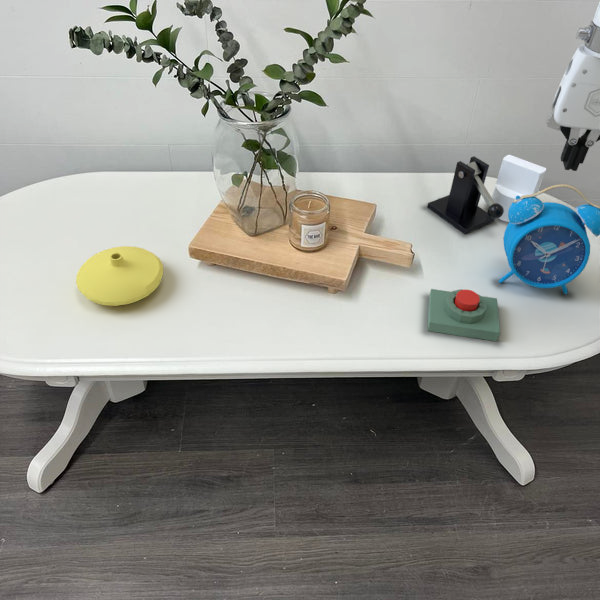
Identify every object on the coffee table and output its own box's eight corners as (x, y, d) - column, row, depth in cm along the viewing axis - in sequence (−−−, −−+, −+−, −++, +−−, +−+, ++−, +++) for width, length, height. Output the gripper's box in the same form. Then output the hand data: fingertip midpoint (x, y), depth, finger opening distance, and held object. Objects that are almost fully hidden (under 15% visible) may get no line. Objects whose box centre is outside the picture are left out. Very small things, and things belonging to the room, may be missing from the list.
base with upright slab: (536, 210, 130) (553, 163, 122) (518, 227, 125) (535, 179, 117) (500, 195, 134) (514, 149, 126) (481, 211, 129) (495, 164, 121)
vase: (72, 316, 102) (61, 287, 97) (87, 260, 113) (79, 231, 108) (162, 312, 103) (156, 282, 98) (168, 257, 114) (163, 228, 110)
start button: (477, 298, 103) (479, 291, 101) (477, 313, 100) (480, 306, 98) (454, 295, 103) (456, 287, 102) (454, 310, 100) (456, 302, 99)
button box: (494, 306, 106) (499, 291, 104) (496, 341, 100) (502, 325, 97) (428, 297, 108) (432, 281, 105) (427, 330, 101) (431, 314, 99)
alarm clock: (489, 289, 110) (519, 201, 96) (489, 257, 117) (517, 171, 104) (581, 305, 107) (625, 216, 94) (575, 271, 114) (615, 184, 101)
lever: (500, 218, 121) (509, 211, 118) (489, 223, 120) (498, 216, 117) (469, 167, 123) (477, 159, 120) (458, 171, 122) (466, 163, 119)
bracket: (494, 221, 127) (509, 170, 118) (464, 234, 123) (478, 182, 114) (455, 196, 134) (468, 146, 125) (426, 207, 130) (437, 156, 121)
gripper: (562, 45, 73) (520, 172, 85) (687, 56, 71) (626, 185, 83) (554, 26, 78) (516, 148, 91) (670, 36, 76) (615, 160, 89)
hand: (569, 165), depth 87 cm, fingers closed
